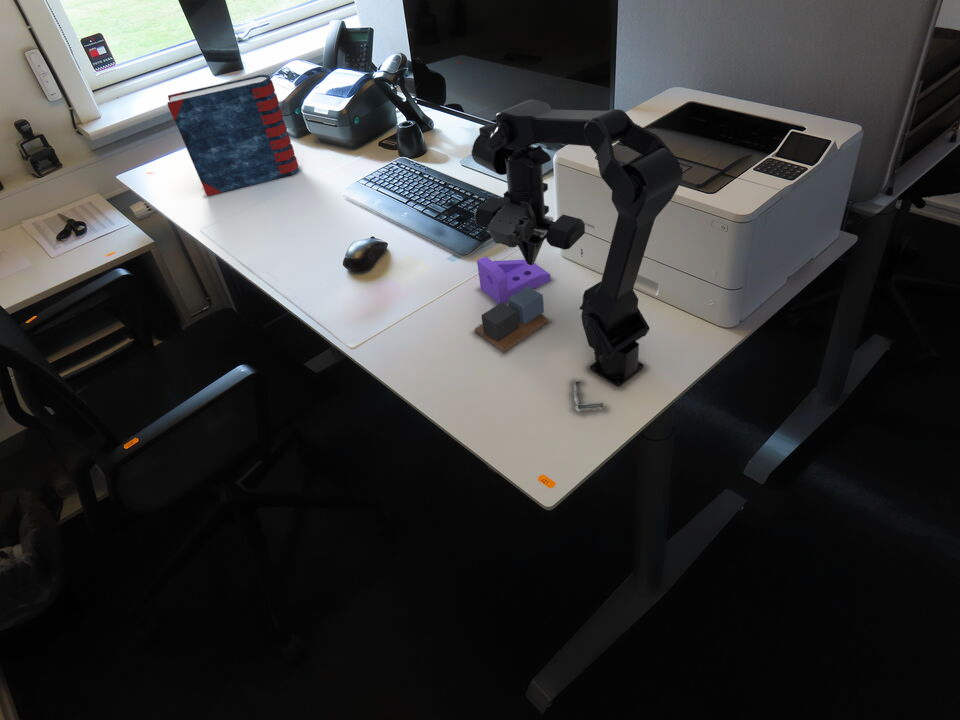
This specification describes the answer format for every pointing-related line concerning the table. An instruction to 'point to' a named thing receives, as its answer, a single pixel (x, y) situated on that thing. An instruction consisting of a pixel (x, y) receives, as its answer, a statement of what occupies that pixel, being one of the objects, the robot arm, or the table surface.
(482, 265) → the bracket
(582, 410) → the bent metal strip
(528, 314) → the blue-grey block
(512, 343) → the brown wooden board
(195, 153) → the book
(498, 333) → the dark grey cube
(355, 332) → the table surface
